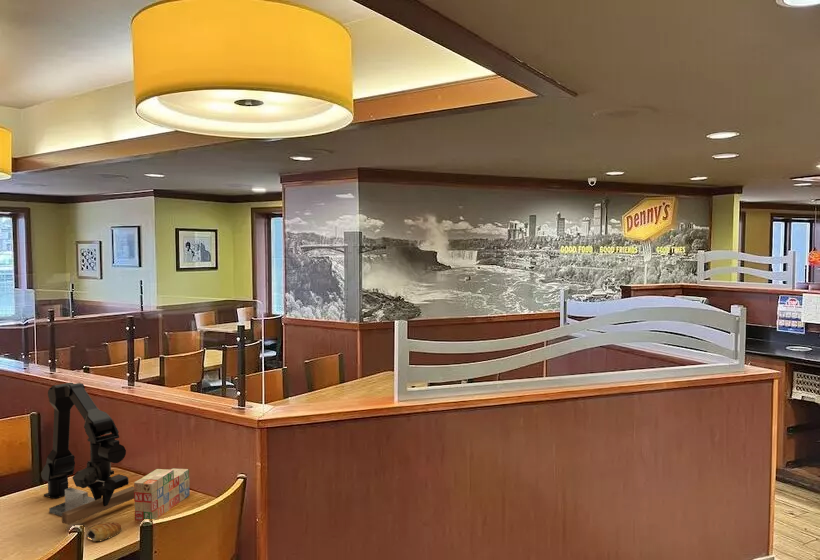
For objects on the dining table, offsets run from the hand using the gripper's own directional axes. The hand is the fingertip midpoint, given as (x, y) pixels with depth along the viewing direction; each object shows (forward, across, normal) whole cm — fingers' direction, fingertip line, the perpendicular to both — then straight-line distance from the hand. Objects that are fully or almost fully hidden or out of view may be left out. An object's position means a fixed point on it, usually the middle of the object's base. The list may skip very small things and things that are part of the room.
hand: (101, 504), depth 198 cm
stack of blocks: (+4, +12, +14) cm, 19 cm away
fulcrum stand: (+4, -13, 0) cm, 13 cm away
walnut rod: (+1, 0, 0) cm, 1 cm away
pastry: (+4, +13, -9) cm, 16 cm away
